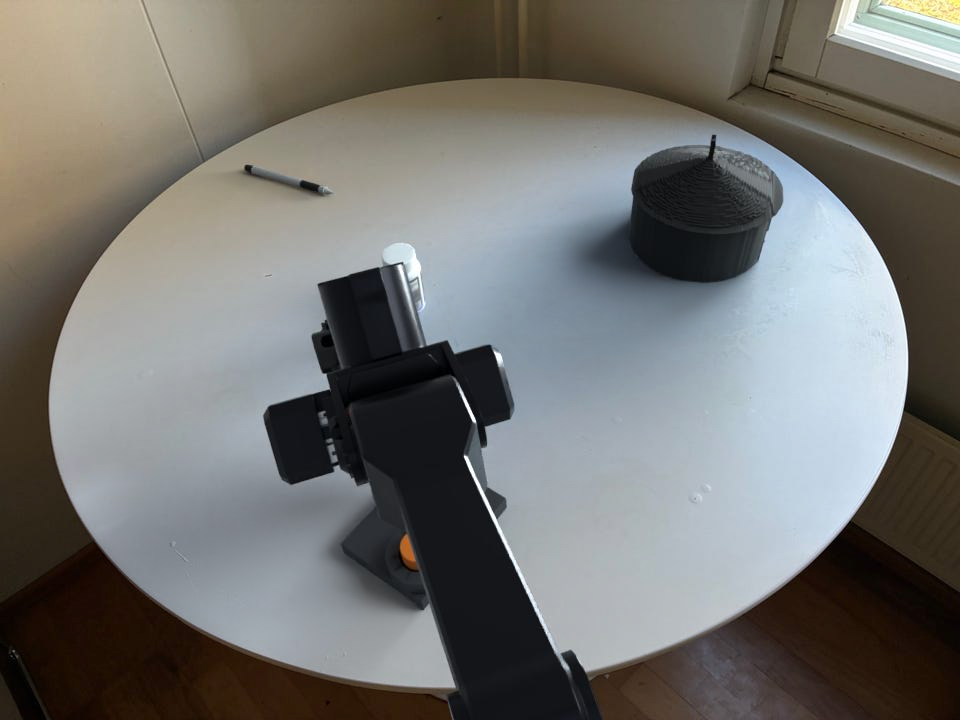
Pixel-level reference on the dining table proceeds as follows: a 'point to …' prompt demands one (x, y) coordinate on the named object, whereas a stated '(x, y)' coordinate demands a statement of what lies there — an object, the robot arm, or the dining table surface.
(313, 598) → the dining table surface
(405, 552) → the button
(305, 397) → the robot arm
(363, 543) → the scale
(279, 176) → the pen
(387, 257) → the pill bottle
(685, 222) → the hut
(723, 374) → the dining table surface
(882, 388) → the dining table surface
